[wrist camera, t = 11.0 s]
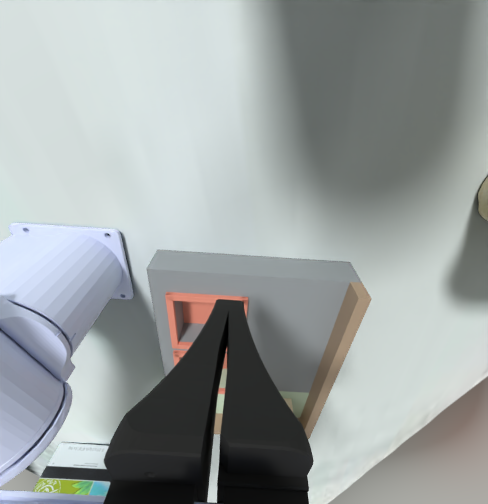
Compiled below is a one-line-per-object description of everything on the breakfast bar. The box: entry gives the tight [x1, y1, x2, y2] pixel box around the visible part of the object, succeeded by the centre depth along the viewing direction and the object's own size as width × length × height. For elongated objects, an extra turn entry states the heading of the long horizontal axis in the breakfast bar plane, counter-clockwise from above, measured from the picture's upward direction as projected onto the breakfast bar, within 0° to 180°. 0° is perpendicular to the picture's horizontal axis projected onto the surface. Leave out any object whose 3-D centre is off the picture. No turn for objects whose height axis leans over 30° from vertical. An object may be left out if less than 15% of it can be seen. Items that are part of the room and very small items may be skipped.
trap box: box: [147, 250, 371, 439], centre depth 28 cm, size 18×24×5 cm
